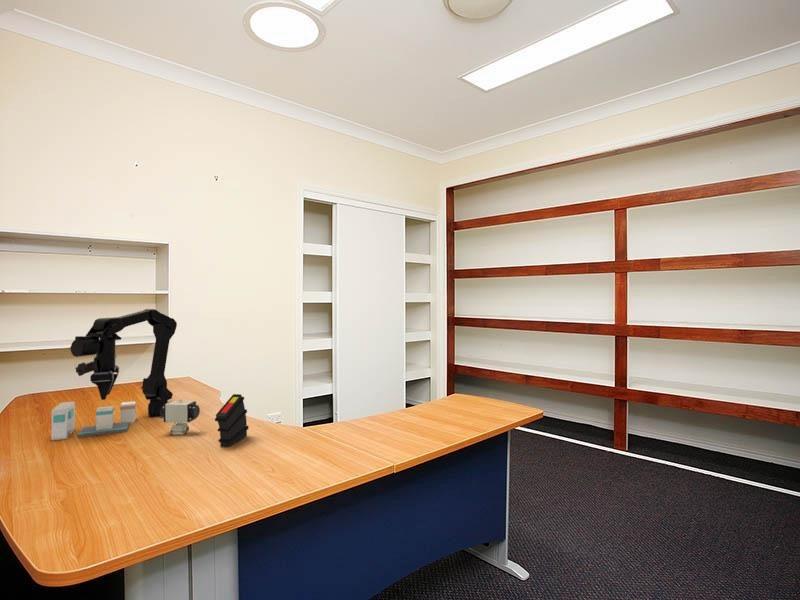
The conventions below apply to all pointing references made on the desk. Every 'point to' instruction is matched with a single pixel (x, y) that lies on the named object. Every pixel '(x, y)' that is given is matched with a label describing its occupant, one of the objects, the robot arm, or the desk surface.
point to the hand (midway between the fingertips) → (105, 397)
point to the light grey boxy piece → (128, 412)
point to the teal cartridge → (104, 418)
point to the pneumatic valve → (180, 415)
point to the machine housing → (63, 420)
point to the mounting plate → (115, 429)
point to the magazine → (232, 421)
